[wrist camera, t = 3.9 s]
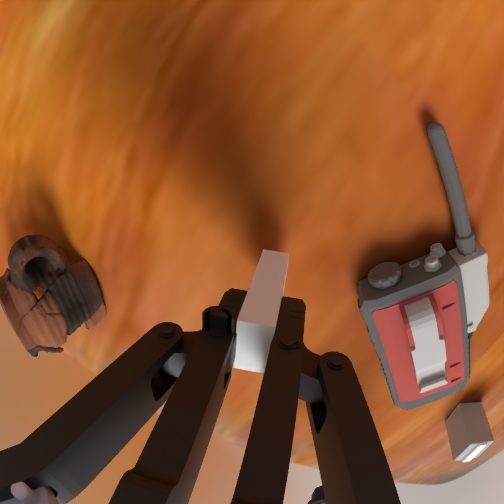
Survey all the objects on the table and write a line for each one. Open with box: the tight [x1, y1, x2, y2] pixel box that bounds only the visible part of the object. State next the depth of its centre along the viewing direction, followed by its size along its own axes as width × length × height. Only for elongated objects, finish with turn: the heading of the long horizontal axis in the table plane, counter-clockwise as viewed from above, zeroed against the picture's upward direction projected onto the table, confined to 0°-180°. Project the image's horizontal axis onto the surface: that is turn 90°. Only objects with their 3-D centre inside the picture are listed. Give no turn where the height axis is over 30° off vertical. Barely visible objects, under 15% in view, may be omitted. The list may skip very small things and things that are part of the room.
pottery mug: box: [0, 235, 106, 357], centre depth 22 cm, size 12×10×8 cm
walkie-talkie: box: [357, 122, 490, 409], centre depth 17 cm, size 9×4×20 cm
